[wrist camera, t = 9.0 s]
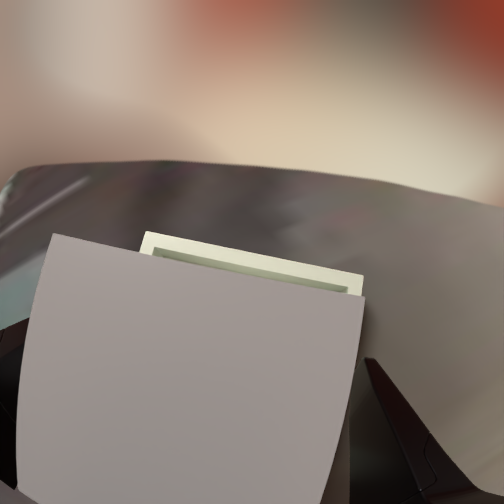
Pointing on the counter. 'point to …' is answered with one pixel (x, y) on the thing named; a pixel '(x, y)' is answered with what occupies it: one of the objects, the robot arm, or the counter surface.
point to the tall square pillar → (179, 382)
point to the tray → (250, 263)
